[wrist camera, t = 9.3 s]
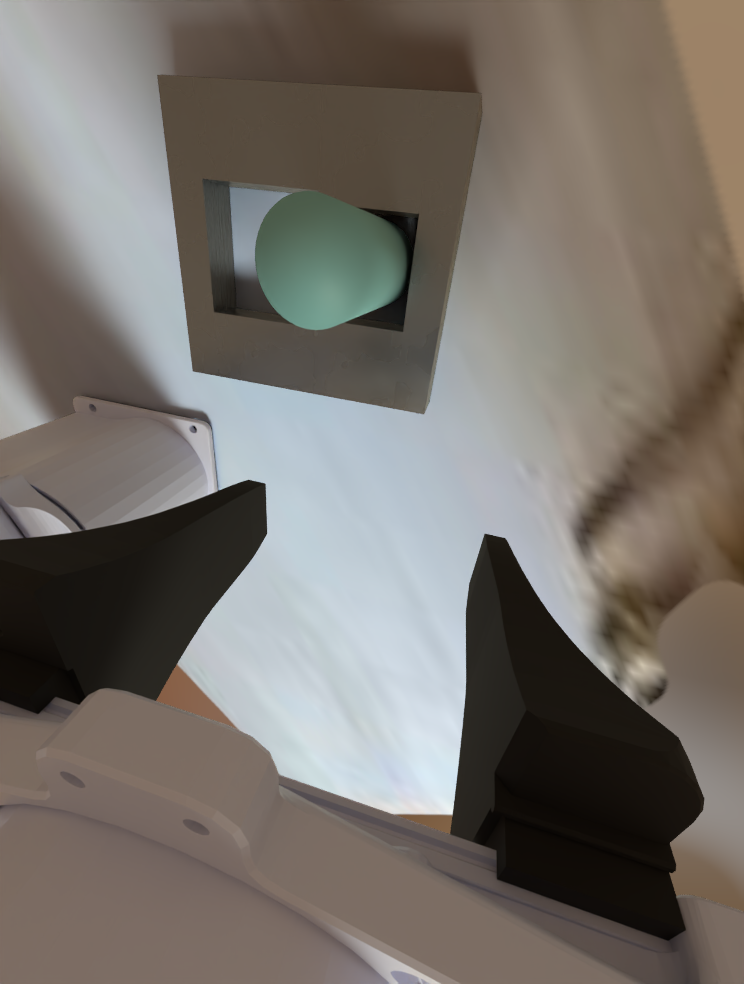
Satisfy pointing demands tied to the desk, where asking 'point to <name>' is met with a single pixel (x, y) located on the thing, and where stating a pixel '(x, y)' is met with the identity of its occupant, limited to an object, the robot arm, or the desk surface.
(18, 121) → the desk surface
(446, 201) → the keyhole plate
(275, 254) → the peg
